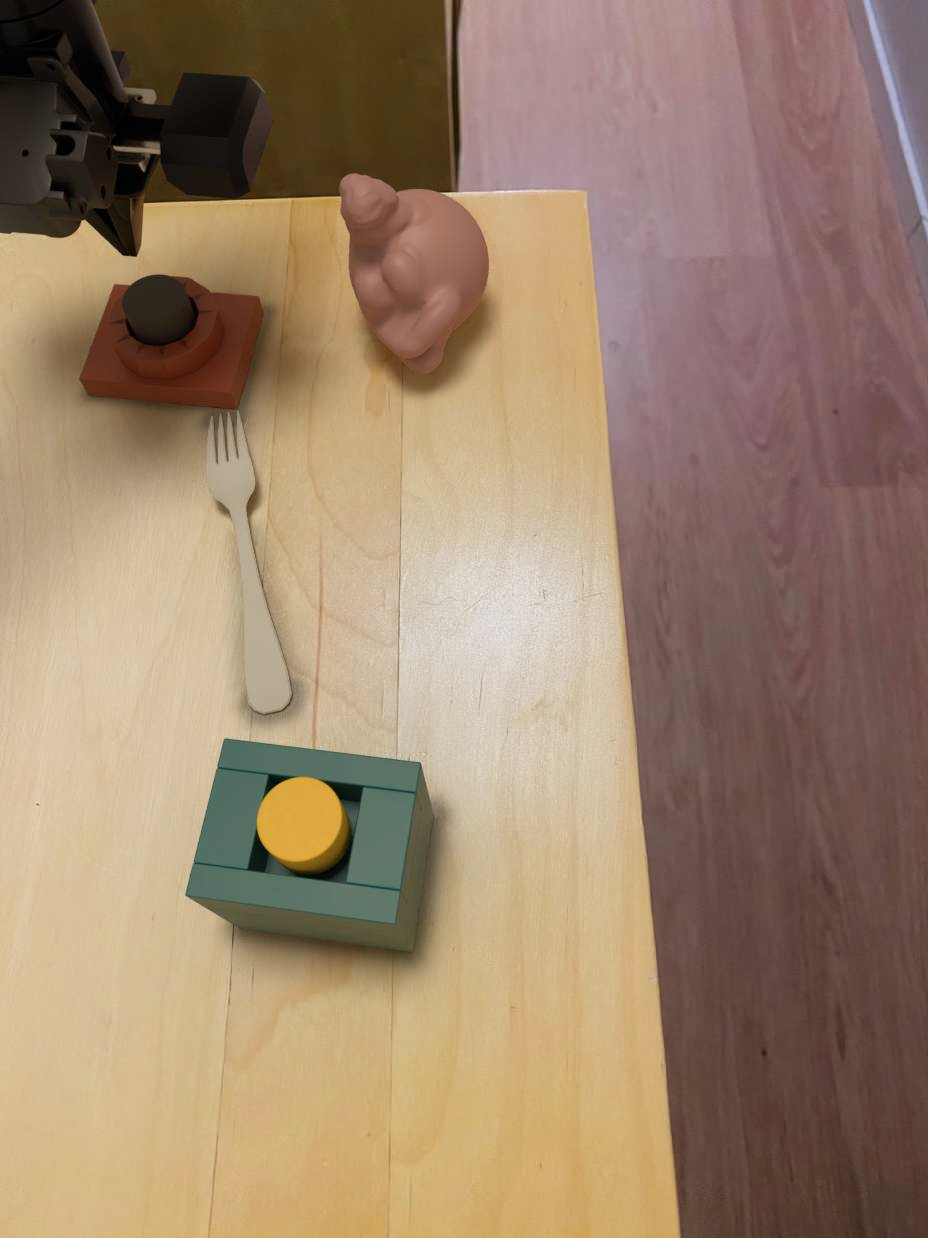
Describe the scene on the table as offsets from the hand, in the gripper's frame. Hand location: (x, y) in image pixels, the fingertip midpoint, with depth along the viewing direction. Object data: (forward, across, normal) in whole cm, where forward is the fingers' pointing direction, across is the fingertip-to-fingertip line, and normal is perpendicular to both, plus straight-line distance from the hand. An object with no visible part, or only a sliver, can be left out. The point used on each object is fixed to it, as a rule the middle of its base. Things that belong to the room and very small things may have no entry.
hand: (132, 250), depth 58 cm
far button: (+6, 0, 0) cm, 6 cm away
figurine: (+9, +16, +4) cm, 19 cm away
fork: (+9, +8, -14) cm, 19 cm away
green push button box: (+9, +17, -32) cm, 37 cm away
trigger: (+1, +17, -32) cm, 36 cm away
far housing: (+9, 0, 0) cm, 9 cm away
